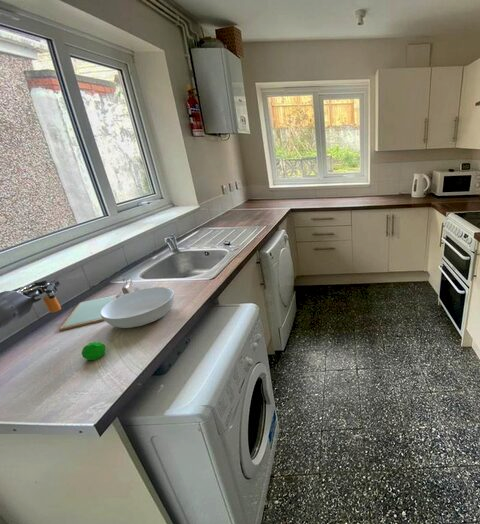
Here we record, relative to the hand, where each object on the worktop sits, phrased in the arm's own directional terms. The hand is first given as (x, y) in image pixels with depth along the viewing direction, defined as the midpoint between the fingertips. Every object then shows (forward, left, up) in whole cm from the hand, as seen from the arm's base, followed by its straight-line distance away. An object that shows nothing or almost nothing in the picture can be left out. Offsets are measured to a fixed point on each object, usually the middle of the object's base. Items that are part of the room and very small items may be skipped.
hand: (50, 282), depth 87 cm
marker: (-1, -3, -8) cm, 9 cm away
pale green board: (+1, +13, -18) cm, 23 cm away
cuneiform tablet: (+11, +23, -18) cm, 32 cm away
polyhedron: (+10, -20, -18) cm, 29 cm away
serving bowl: (+20, -2, -18) cm, 27 cm away
